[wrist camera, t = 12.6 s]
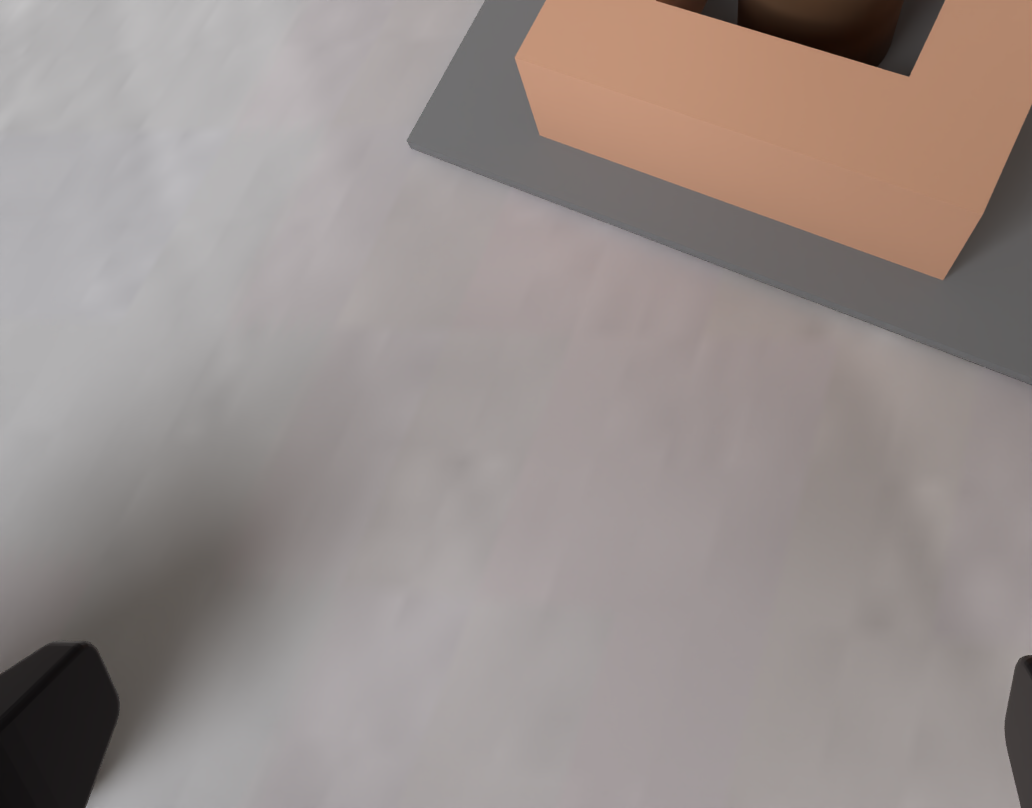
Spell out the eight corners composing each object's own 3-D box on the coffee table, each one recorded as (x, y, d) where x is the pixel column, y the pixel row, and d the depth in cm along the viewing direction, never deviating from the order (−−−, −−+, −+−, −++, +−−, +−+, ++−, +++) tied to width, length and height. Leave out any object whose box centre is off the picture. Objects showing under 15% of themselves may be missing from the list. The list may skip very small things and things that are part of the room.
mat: (1268, -90, 24) (1277, -102, 24) (1066, 397, 22) (1072, 392, 21) (623, -234, 29) (623, -246, 29) (410, 148, 27) (406, 140, 27)
